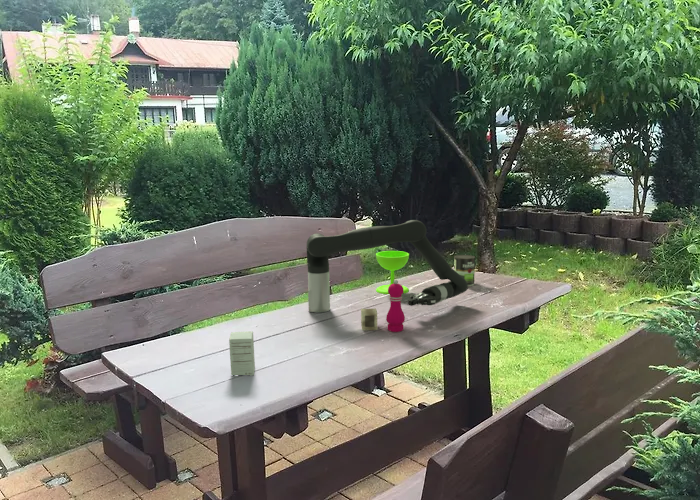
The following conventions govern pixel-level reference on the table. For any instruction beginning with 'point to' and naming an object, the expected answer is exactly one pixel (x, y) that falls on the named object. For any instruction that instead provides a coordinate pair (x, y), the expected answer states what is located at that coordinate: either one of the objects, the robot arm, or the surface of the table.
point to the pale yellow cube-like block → (369, 319)
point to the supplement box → (242, 353)
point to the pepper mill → (395, 308)
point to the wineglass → (391, 266)
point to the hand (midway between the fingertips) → (409, 303)
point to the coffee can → (465, 267)
